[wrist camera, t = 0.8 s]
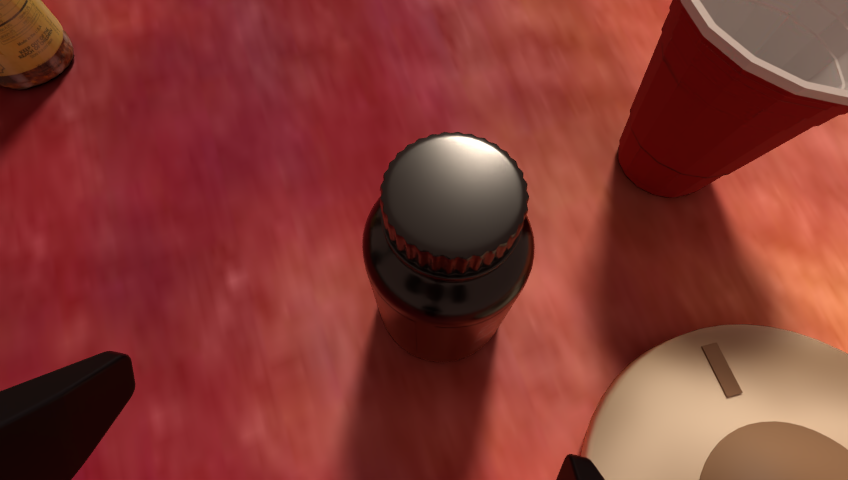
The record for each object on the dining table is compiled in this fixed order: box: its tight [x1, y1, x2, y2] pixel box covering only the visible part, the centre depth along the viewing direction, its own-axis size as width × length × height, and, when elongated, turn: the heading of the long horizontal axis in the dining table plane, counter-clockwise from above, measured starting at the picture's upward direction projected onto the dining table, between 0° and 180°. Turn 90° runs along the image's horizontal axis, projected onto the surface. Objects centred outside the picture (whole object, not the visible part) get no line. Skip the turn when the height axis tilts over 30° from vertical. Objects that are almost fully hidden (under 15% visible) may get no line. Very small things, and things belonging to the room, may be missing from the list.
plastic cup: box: [618, 0, 848, 198], centre depth 24 cm, size 11×11×12 cm
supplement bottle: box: [362, 132, 534, 362], centre depth 19 cm, size 7×7×12 cm
